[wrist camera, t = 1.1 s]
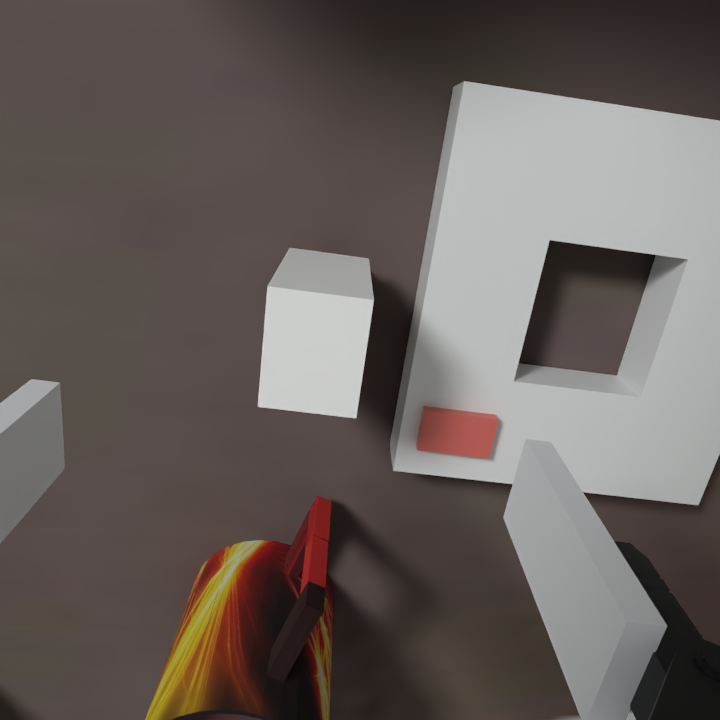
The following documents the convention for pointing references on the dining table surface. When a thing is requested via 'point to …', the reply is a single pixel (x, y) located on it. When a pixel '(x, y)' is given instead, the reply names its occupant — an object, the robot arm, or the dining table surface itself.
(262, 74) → the dining table surface
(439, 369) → the socket
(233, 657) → the mug
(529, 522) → the robot arm
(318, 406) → the plug
